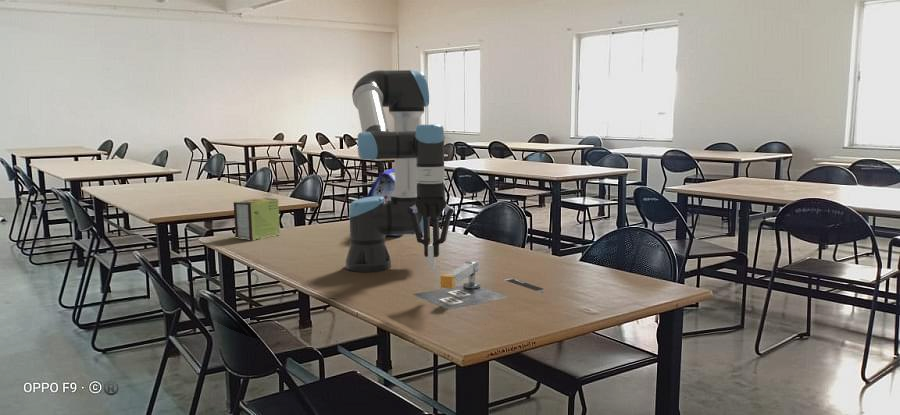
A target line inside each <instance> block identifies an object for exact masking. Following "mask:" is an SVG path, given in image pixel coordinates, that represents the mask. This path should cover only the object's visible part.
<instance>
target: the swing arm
mask: <svg viewBox="0 0 900 415" xmlns="http://www.w3.org/2000/svg"><path fill="white" fill-rule="evenodd" d="M474 272H475V273H476V272H477V273H478V272H480V262H479V261H478V260H477V261H476V260H466V261H465V262H464V263H463V264H462V265H460V266H458V267H457V268H455V269H454V270H452V271H450V272H448V273H447V274H446V273H445V274H444V273H442V274H441V275H440V289H445V288H449V289H452V288H454V287H456V284H458V283H460V282H461V281H463V280H464V279H467V277H468V278H469V275H471V274H472V273H474Z"/></svg>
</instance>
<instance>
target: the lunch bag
mask: <svg viewBox="0 0 900 415" xmlns="http://www.w3.org/2000/svg"><path fill="white" fill-rule="evenodd" d="M373 182H374V183H373V185H372V186H371V188H370V189H369V191H368V193H367V195H366V197H373V196H383V197H384V199H385V201H389V200H391V194H392V193H393V192H394V190H395V168H390V169H387V170H384V172H382V173H380V174H379V176H377V178H376V179H375V180H374V181H373ZM393 236H395V237H401V236H402V235H393Z"/></svg>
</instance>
